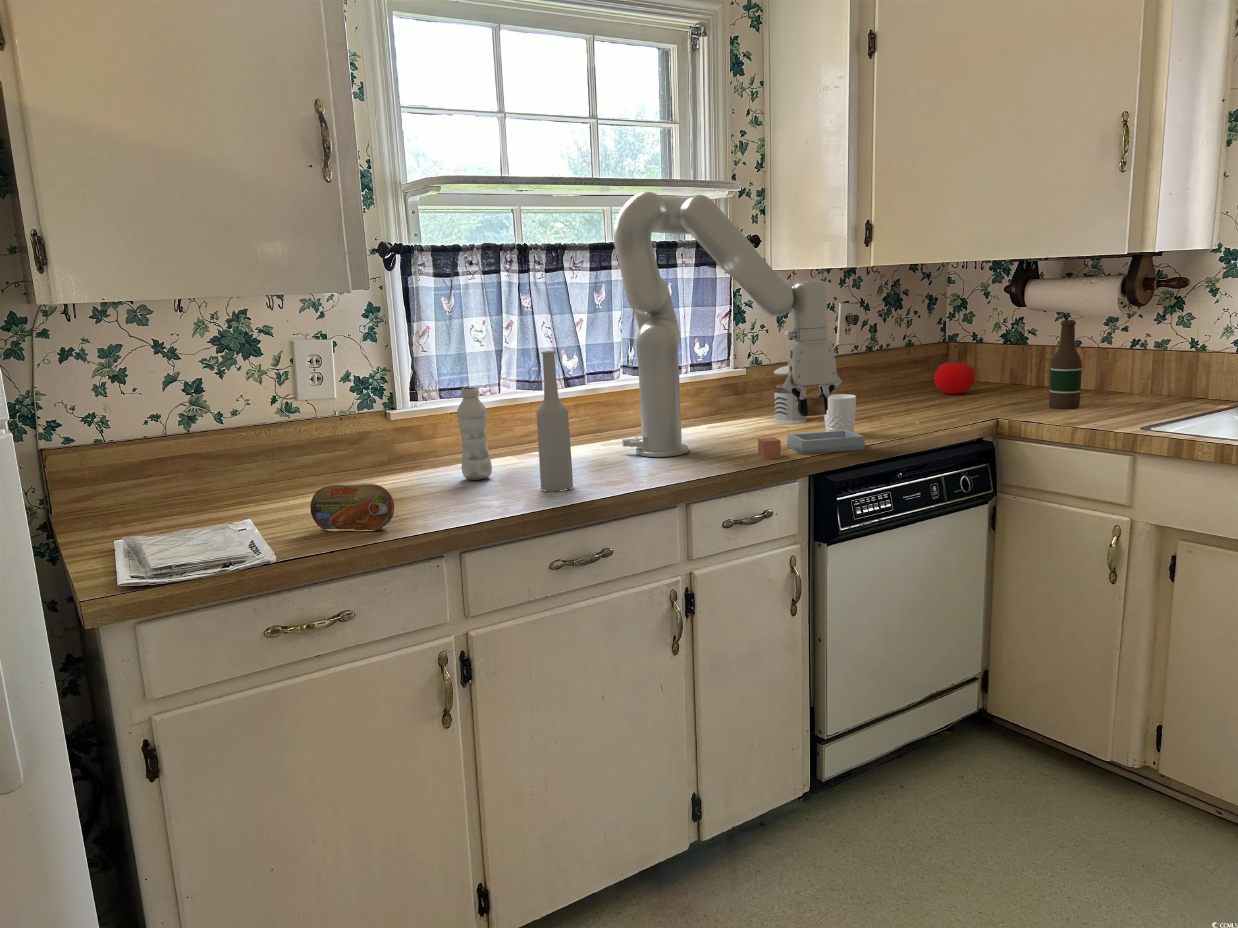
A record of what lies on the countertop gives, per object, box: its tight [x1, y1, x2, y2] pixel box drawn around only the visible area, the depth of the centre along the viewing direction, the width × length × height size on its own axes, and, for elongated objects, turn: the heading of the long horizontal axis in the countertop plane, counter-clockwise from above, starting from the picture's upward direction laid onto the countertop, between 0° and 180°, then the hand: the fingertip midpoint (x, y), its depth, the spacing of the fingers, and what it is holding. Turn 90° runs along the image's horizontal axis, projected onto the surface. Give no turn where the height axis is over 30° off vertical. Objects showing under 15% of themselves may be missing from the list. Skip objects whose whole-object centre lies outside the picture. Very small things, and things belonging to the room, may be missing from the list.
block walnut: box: [803, 396, 825, 418], centre depth 211 cm, size 4×4×4 cm
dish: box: [786, 430, 866, 455], centre depth 213 cm, size 15×10×3 cm, turn 99°
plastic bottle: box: [456, 386, 493, 481], centre depth 196 cm, size 6×7×20 cm
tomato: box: [933, 360, 976, 395], centre depth 287 cm, size 11×12×10 cm
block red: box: [757, 436, 782, 460], centre depth 207 cm, size 4×4×4 cm
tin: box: [309, 483, 395, 531], centre depth 161 cm, size 15×3×8 cm, turn 80°
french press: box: [771, 330, 807, 425], centre depth 250 cm, size 10×12×25 cm
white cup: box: [823, 393, 857, 433], centre depth 226 cm, size 8×8×10 cm
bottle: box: [536, 350, 574, 492], centre depth 183 cm, size 7×7×28 cm
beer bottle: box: [1048, 319, 1083, 410], centre depth 250 cm, size 8×8×24 cm
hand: (813, 413), depth 211 cm, fingers closed on block walnut, 4 cm apart
